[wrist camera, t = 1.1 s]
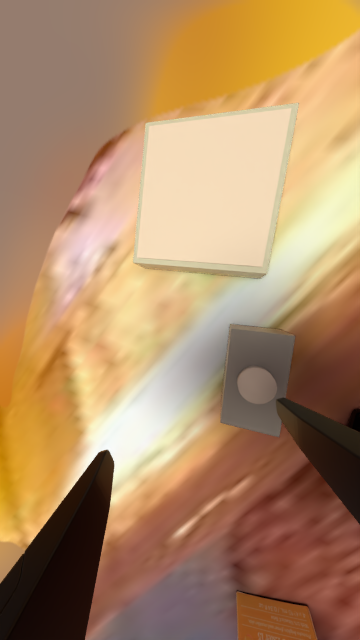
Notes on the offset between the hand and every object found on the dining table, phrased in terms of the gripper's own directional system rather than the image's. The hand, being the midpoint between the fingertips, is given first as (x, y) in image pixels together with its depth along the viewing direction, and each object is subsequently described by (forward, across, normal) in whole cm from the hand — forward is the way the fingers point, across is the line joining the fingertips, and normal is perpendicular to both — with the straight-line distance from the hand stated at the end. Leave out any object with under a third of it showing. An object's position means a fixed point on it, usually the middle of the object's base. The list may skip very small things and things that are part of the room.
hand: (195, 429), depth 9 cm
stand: (+13, -7, -13) cm, 20 cm away
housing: (+9, -7, +4) cm, 12 cm away
